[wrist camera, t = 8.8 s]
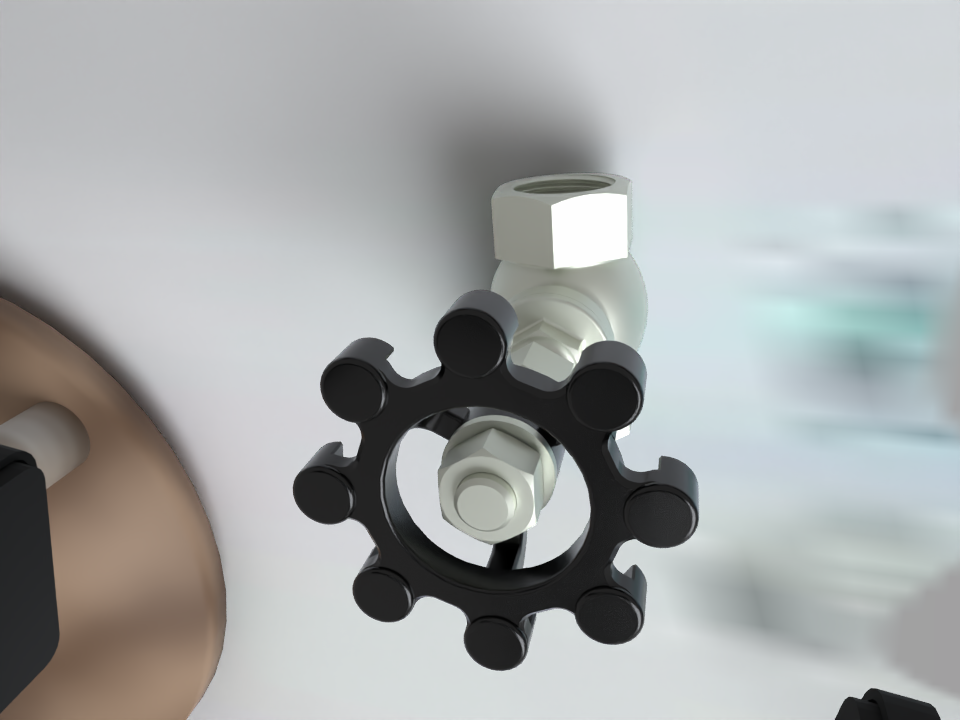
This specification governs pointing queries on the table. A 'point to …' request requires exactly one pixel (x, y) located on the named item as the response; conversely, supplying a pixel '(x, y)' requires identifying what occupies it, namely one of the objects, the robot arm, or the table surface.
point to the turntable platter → (110, 539)
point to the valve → (514, 430)
